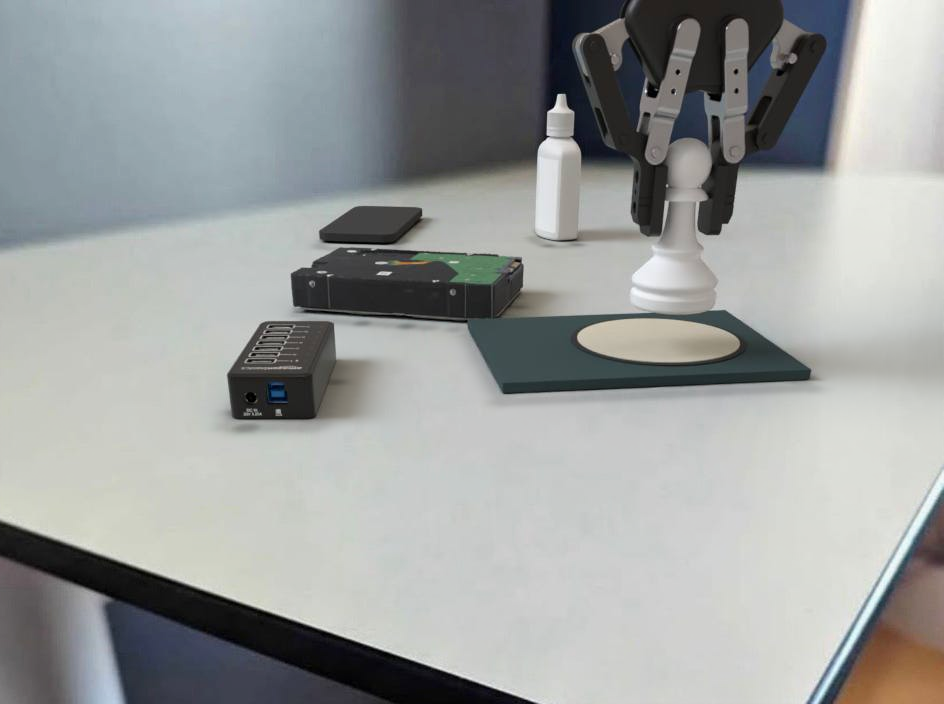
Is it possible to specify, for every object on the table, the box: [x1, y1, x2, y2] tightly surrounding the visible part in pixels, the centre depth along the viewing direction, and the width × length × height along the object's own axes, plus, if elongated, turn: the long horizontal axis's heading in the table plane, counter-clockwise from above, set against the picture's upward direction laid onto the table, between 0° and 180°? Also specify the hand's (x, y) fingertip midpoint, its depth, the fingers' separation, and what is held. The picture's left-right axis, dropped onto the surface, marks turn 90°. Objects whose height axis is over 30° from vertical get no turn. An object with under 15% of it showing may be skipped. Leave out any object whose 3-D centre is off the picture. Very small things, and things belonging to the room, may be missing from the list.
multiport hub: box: [226, 320, 337, 419], centre depth 58 cm, size 4×11×2 cm, turn 0°
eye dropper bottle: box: [534, 93, 582, 241], centre depth 95 cm, size 4×6×12 cm
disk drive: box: [290, 246, 525, 322], centre depth 75 cm, size 10×3×15 cm
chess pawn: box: [629, 137, 719, 315], centre depth 59 cm, size 5×5×9 cm
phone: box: [318, 205, 423, 243], centre depth 100 cm, size 7×1×15 cm
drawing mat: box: [467, 309, 812, 394], centre depth 64 cm, size 18×14×1 cm
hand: (679, 232), depth 59 cm, fingers closed on chess pawn, 3 cm apart
